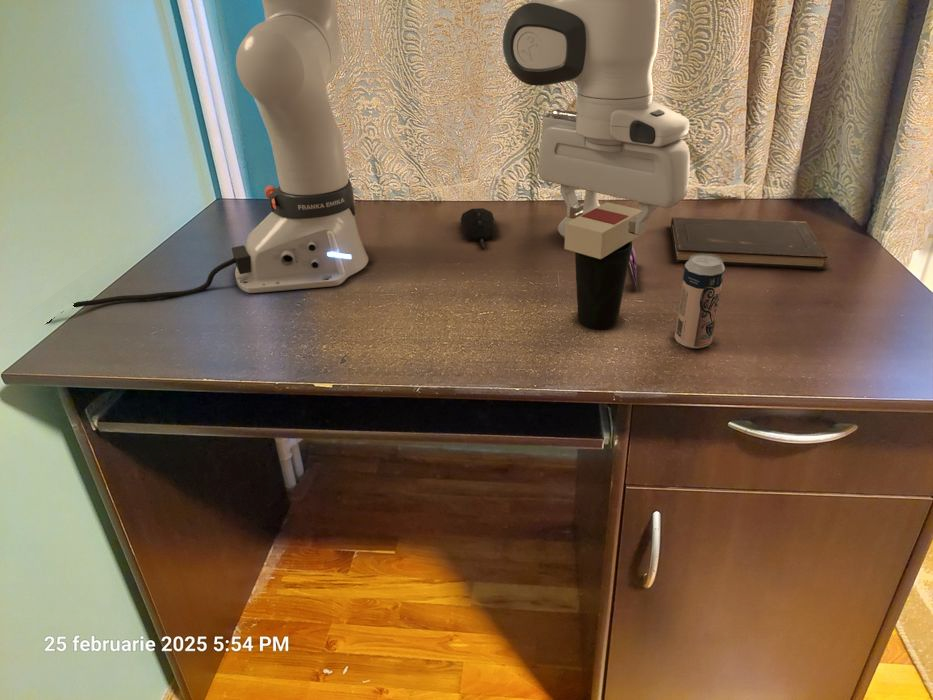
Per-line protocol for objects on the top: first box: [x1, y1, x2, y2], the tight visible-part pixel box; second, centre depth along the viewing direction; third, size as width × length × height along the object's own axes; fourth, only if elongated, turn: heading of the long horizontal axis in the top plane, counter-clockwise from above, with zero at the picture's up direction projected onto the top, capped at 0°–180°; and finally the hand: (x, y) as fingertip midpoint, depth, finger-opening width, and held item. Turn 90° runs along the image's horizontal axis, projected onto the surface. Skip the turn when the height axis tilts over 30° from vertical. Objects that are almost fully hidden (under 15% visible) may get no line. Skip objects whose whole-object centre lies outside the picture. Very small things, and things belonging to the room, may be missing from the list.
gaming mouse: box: [460, 207, 496, 250], centre depth 124 cm, size 6×15×4 cm, turn 4°
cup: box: [574, 240, 634, 331], centre depth 92 cm, size 8×8×12 cm
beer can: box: [674, 253, 726, 350], centre depth 86 cm, size 5×5×12 cm
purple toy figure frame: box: [628, 245, 638, 291], centre depth 106 cm, size 7×5×9 cm
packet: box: [563, 201, 642, 259], centre depth 88 cm, size 10×6×4 cm, turn 138°
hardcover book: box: [670, 216, 828, 270], centre depth 115 cm, size 16×23×2 cm
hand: (604, 225), depth 88 cm, fingers open, 8 cm apart
